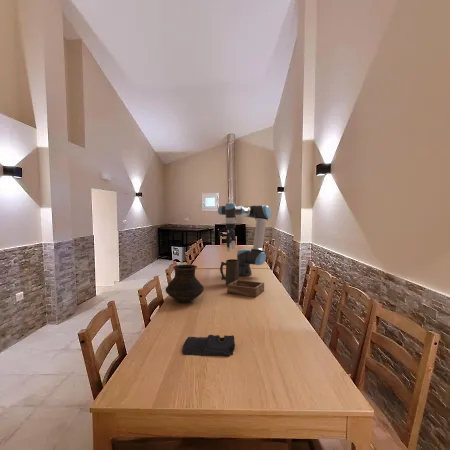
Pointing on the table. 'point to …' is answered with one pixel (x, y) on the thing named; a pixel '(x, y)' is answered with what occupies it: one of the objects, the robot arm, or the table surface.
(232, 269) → the beer stein
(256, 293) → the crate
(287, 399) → the table surface
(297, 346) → the table surface
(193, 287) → the ceramic pot
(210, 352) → the dark grey flat piece
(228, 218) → the robot arm
